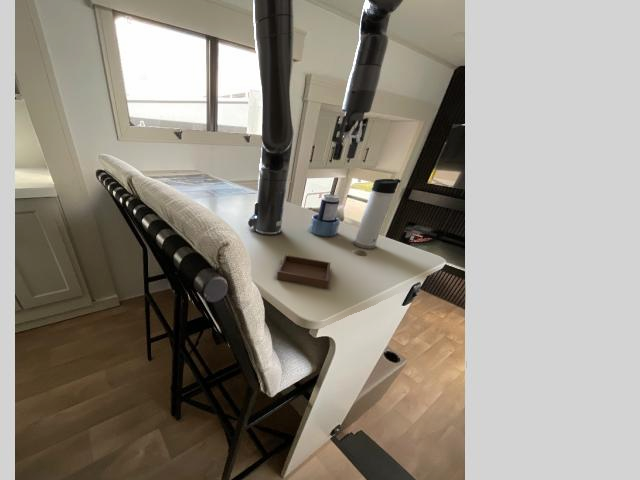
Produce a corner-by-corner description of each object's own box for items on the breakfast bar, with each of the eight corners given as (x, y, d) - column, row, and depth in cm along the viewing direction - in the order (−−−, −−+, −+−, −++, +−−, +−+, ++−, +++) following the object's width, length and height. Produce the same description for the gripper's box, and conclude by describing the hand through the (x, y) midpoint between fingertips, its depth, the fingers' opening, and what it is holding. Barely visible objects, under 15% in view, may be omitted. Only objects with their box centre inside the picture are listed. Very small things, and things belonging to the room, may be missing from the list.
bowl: (308, 234, 88) (311, 220, 85) (310, 226, 95) (313, 212, 92) (336, 238, 86) (339, 224, 83) (336, 229, 93) (340, 216, 90)
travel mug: (377, 250, 79) (404, 181, 68) (355, 247, 80) (378, 179, 69) (373, 242, 84) (397, 177, 73) (352, 240, 85) (373, 175, 74)
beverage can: (333, 230, 91) (342, 196, 84) (328, 235, 87) (337, 199, 80) (317, 227, 93) (325, 193, 86) (312, 231, 89) (320, 196, 82)
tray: (276, 278, 63) (277, 271, 61) (283, 261, 71) (285, 254, 69) (326, 288, 60) (328, 281, 59) (328, 269, 68) (330, 262, 66)
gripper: (359, 92, 73) (343, 156, 83) (334, 87, 65) (319, 158, 74) (385, 92, 69) (365, 159, 78) (362, 86, 61) (342, 162, 70)
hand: (343, 159), depth 76 cm, fingers open, 8 cm apart
